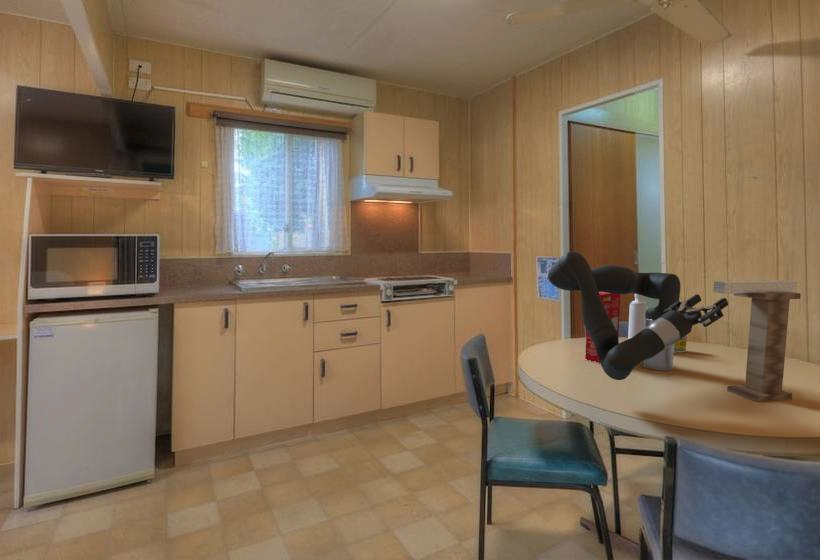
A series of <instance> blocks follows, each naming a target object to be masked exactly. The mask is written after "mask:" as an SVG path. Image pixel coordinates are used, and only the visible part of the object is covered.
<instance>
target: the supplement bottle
mask: <svg viewBox="0 0 820 560" xmlns="http://www.w3.org/2000/svg"><path fill="white" fill-rule="evenodd" d="M687 336H688V334H687V335H686V336H685V337H683V338H682V339H680V340H679V341H677V342H676V343H674V353H686V351H687V338H688V337H687Z"/></svg>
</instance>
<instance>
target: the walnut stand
mask: <svg viewBox="0 0 820 560" xmlns="http://www.w3.org/2000/svg"><path fill="white" fill-rule="evenodd" d="M733 296H735V297H741V298H742V297H743V298H750V299H751V301H750V303H751V304H750V316H749V329H748V343H747V357H746V369H745V381H744V382H745V383H744V384H733V385H727V388H726V391H727V392H729V393H732V394H735V395H738V396H740V397H743V398H746V399H748V400H751V401H754V402H756V403H757V402H769V401H782V400H783V401H784V400H792V397H793V393H791V392H789V391H786V390H785V391H784V390H783V385H784V384H783V383H784V382H783V381H784V370H785V360H786V358H785V357H786V347H787V334H788V321H789V311H790V301H791V300H801V293H800V292H778V293H733Z"/></svg>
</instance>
